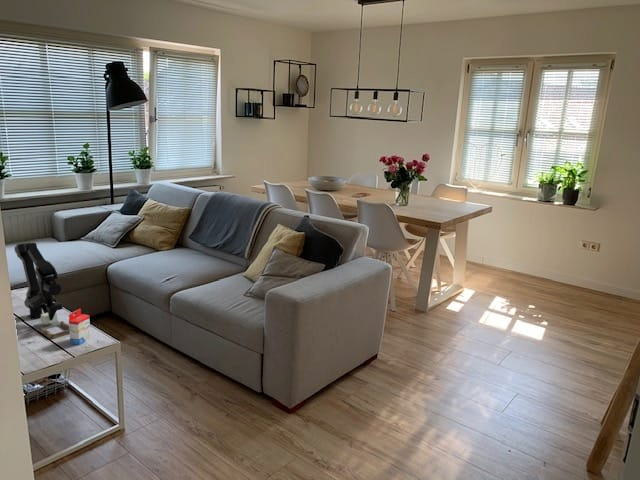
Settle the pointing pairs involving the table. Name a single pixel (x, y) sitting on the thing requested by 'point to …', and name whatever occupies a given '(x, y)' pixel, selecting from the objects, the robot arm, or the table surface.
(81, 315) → the ink box
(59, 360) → the table surface
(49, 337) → the frame
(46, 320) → the sage block
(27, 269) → the robot arm
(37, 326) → the mat
